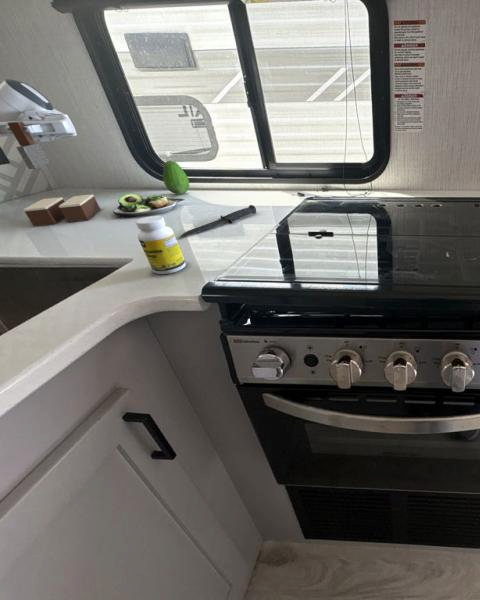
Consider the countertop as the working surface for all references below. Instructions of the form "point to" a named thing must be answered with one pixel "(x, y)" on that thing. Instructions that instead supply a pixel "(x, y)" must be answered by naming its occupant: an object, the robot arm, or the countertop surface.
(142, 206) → the salad plate
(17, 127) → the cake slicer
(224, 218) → the knife
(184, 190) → the avocado
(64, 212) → the cake
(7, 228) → the countertop surface
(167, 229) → the pill bottle
